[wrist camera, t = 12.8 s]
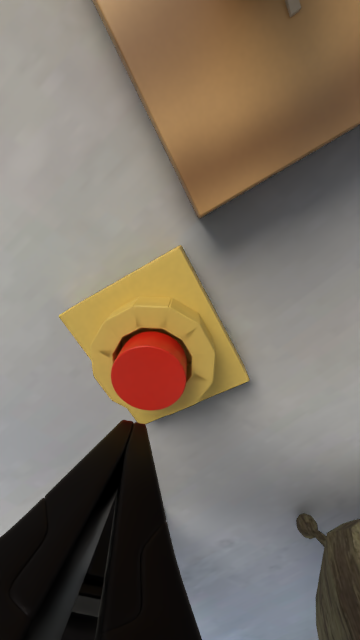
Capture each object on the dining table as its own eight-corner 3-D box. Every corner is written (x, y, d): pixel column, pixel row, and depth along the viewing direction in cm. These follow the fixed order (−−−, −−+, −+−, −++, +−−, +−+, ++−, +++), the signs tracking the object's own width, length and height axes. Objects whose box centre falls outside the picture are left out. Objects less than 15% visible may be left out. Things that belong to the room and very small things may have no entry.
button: (198, 374, 13) (199, 394, 12) (142, 398, 14) (136, 421, 12) (165, 319, 12) (161, 332, 11) (107, 348, 13) (95, 365, 11)
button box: (244, 366, 17) (257, 400, 13) (144, 409, 18) (134, 449, 15) (180, 244, 14) (177, 248, 11) (71, 307, 16) (39, 327, 12)
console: (388, 108, 11) (443, 74, 9) (198, 219, 14) (199, 216, 11) (301, -281, 8) (350, -511, 6) (65, -55, 10) (24, -148, 8)
